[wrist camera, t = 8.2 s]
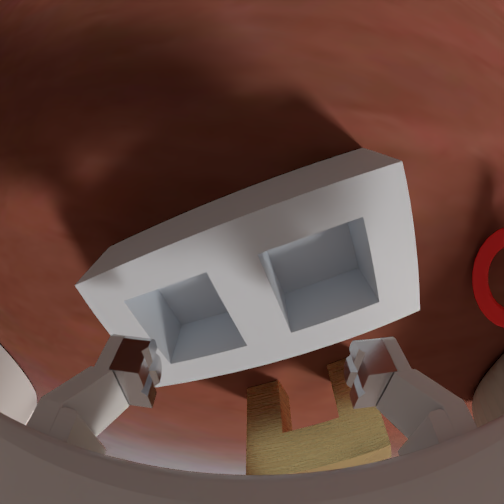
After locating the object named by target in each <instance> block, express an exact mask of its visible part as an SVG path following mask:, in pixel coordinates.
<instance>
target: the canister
mask: <svg viewBox="0 0 504 504" xmlns="http://www.w3.org/2000/svg"><path fill="white" fill-rule="evenodd" d="M472 411H473V417H474V421H475V424H476V426H477V428H478V427H480V426H482V425H484V424H486V423H488V422H490V421H492V420H494V419H496V418H498V417H500V416H502V415H504V354H503V355H502V356H501V357H500V358H499V359H498V360H497V361H496V363H495V364H494V365H493V366H492V367H491V369H490V370H489V371H488V372H487V373H486V375H485V376H484V377H483V379H482V381H481V382H480V383H479V385H478V387H477V389H476V391H475V393H474V396H473V401H472Z"/></svg>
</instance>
